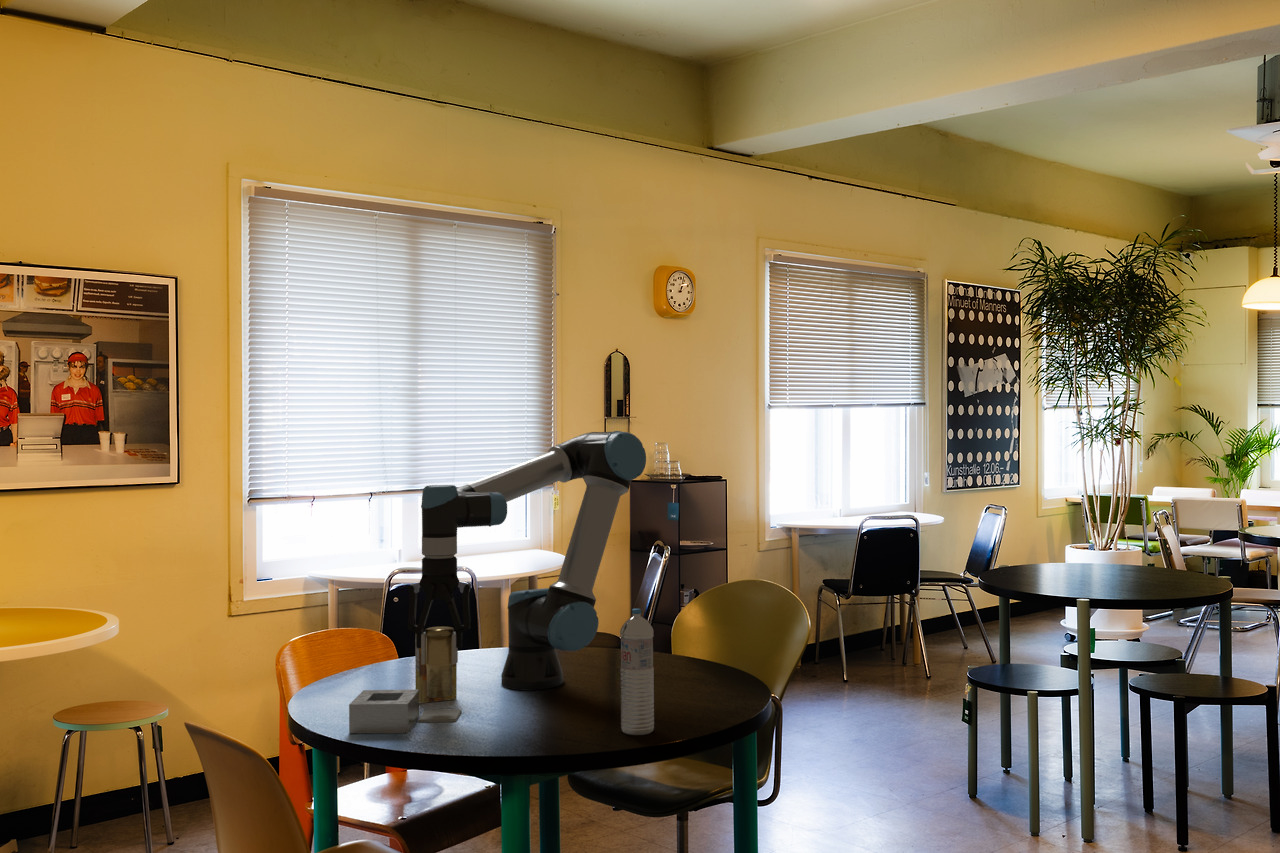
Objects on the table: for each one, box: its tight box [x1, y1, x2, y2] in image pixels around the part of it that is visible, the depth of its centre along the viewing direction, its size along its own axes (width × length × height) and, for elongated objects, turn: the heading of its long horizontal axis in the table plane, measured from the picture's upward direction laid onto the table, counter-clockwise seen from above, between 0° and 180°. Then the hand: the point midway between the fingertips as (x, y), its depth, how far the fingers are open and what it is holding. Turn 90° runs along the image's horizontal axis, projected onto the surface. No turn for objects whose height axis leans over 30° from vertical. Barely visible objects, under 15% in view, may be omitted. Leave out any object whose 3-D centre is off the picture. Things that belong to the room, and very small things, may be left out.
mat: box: [417, 708, 462, 723], centre depth 222 cm, size 8×8×1 cm
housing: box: [348, 689, 420, 734], centre depth 216 cm, size 12×12×6 cm
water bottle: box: [619, 608, 655, 736], centre depth 210 cm, size 7×7×25 cm
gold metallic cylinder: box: [424, 626, 455, 698], centre depth 222 cm, size 6×6×14 cm
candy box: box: [414, 635, 458, 704], centre depth 237 cm, size 9×4×15 cm, turn 116°
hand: (439, 662), depth 222 cm, fingers closed on gold metallic cylinder, 6 cm apart
